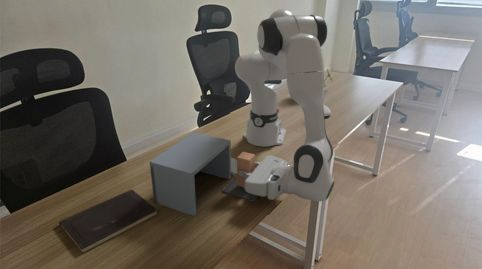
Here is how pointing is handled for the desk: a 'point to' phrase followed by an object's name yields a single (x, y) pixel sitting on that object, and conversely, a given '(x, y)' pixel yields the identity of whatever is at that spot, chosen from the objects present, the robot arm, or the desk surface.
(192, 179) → the cubby
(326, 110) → the flower in vase
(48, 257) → the desk surface
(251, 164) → the block
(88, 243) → the hardcover book
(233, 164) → the hard drive
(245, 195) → the mat
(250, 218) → the desk surface
